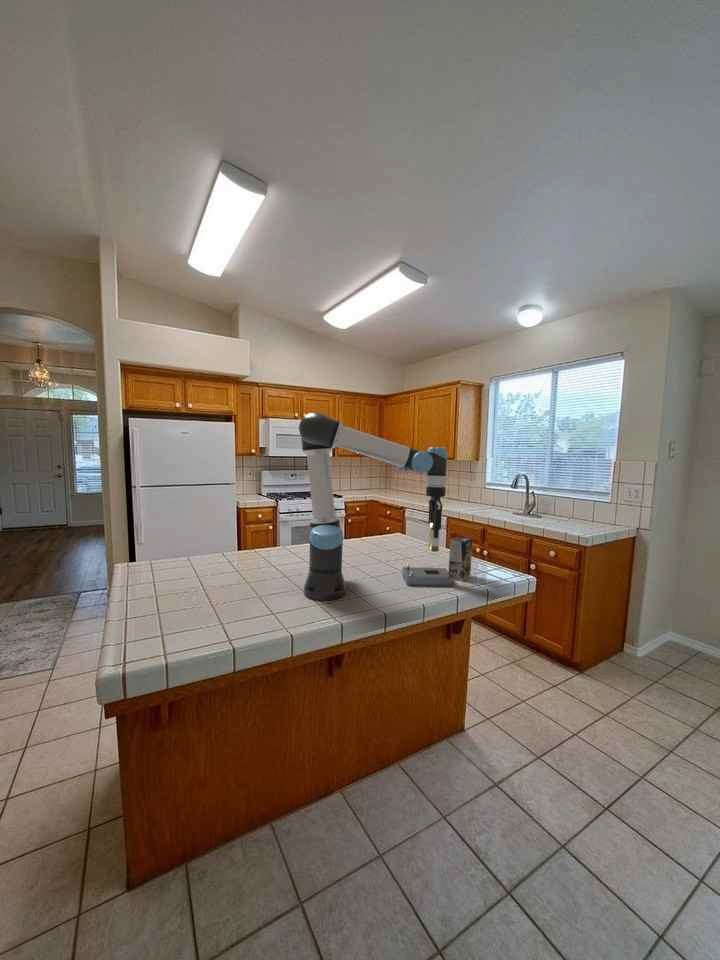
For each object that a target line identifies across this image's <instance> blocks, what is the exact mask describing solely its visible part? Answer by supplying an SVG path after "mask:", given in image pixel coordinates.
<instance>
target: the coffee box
mask: <svg viewBox="0 0 720 960" xmlns="http://www.w3.org/2000/svg"><path fill="white" fill-rule="evenodd" d="M449 542H450V544H449V558H448V572H449V573H450V574H451V575H452V576H453V580H456V581H460V582H463V581H464V580H466V579H468V578H469V577H471V572H472V571H471V569H472V568H471V567H472V551H473V550H472V547H473V538H469V537H461V536H457V537H456V538H451V539H450V540H449Z"/></svg>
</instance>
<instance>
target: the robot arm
mask: <svg viewBox="0 0 720 960" xmlns="http://www.w3.org/2000/svg"><path fill="white" fill-rule="evenodd" d="M298 424H299V425H298V426H299V427H298V431H299V435H300V439H301V446H302V447H301V448H302V452H303V453H304V454H305V455H306V456H307V457H306V458H307V468H308V470H307V471H308V477H309V478H308V479H309V489H310V497H311V498H310V501H311V509H312V511H311V512H312V517H311V519H310V520H309V528H310V530H309V531H310V534H309V537H308V538H309V567H308V568H309V570H308V574H307V577H306V579H305V583H304V585H303V595H304V596H305V597H306V598H308V599H313V600H315V601H334V600H338V599H341V598H343V597H345V596H346V594H347V585H346V582H345V579H344V575H343V545H344V544H343V543H344V542H343V541H344V535H343V534H344V533H343V530H342V528H341V523H340V522H341V521H340V517H338V515H336V511H335V502H334V501H335V500H334V499H335V498H334V490H333V478H332V467H331V457H330V453H331V452H333V449H334V448H335V447H338V448H340V449H344V450H348V451H350V452H352V453H357V454H360V455H363V456H365V457H369V458H372V459H376V460H378V461H381V462H385V463H387V464H391V465H393V466H396V467H397V469H398V471H404V472H406V471H407V472H408V471H410V472H415V473H417V474H424V473H426V482H425V483H426V488H425V492H426V496H427V497H430V500H428V521H427V523H428V525H429V524H430V522H433V528H431V530H432V544H431V546H439V547H440V531H441V529H442V515H443V514H442V513H443V504H442V501H441V498H443V497H445V496H446V491H447V490H446V487H445V486H447V485H446V484H447V481H448V477H447V465H448V451H447V448H446V447H443V446H441V447H440V446H439V447H437V446H435V447H434V446H429V447H427V451H424V450H418V449H416V448H413V447H409V446H405V445H403V444H399V443H397V442H394V441H390V440H387V439H384V438H382V437H378V436H375V435H372V434H370V433H366V432H365V431H364V432H363V431H361V430H357V429H355V428H352V427H348V426H345V425H343V423H342V421H340V420H336V419H333V418H331V417H329V416H327V415H326V414H324V413H321V412H317V411H315V412H314V411H313V412H310V413H307V414H306V415H304V416H303V417H302V418H301V419H300V422H299V423H298Z"/></svg>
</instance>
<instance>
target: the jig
mask: <svg viewBox="0 0 720 960" xmlns="http://www.w3.org/2000/svg"><path fill="white" fill-rule="evenodd" d="M401 572H402V573H401V574H402V577H403V580H404V583H405V584H406V586H414V587H415V586H416V587H417V586H419V587H423V586H424V587H454V579H453V576H452V575H451V574H450V573H449V570H448V569H447V568H446V567H415V566H413V567H410V564H408V563H407V564H406V566H405V567H404V566H403V567H402V571H401Z"/></svg>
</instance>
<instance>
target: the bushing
mask: <svg viewBox="0 0 720 960" xmlns="http://www.w3.org/2000/svg"><path fill="white" fill-rule="evenodd" d="M428 525H429V527H428V532H429V533H428V551H429V552H433V553H434V552H437V553H438V552H439V549H440V548H439V547H440V545H439V546H431V544H432V530H431V528H433V522H430V524H428Z"/></svg>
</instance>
